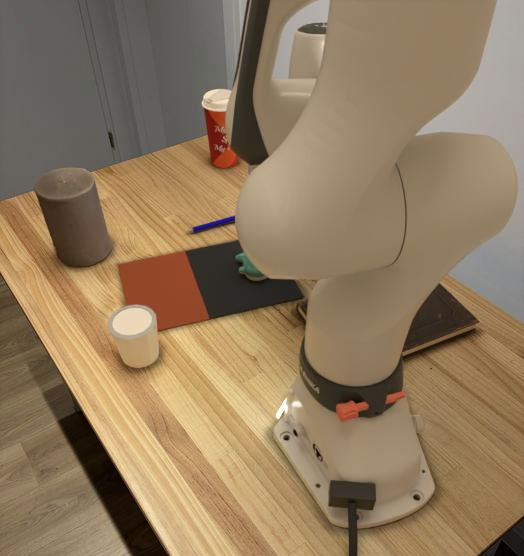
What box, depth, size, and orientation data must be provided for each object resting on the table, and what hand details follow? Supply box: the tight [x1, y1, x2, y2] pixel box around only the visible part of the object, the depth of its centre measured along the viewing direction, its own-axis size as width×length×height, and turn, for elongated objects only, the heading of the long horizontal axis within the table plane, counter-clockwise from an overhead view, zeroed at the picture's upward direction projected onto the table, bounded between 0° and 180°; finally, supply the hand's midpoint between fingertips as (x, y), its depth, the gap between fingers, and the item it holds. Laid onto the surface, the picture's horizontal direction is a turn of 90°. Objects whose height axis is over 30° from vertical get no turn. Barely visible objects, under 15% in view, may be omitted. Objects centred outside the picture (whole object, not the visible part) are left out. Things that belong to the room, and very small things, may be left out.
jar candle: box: [107, 305, 160, 369], centre depth 80 cm, size 7×7×7 cm
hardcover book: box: [295, 282, 480, 361], centre depth 86 cm, size 16×23×2 cm
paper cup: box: [201, 88, 238, 169], centre depth 114 cm, size 8×8×14 cm
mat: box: [117, 239, 305, 332], centre depth 94 cm, size 18×28×1 cm, turn 108°
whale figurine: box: [235, 253, 267, 281], centre depth 94 cm, size 6×7×4 cm
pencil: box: [187, 215, 235, 233], centre depth 104 cm, size 17×1×1 cm, turn 116°
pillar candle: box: [33, 167, 112, 268], centre depth 94 cm, size 10×10×15 cm
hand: (309, 221), depth 92 cm, fingers closed
